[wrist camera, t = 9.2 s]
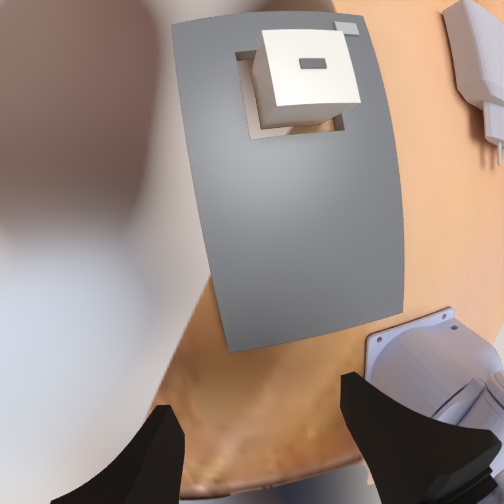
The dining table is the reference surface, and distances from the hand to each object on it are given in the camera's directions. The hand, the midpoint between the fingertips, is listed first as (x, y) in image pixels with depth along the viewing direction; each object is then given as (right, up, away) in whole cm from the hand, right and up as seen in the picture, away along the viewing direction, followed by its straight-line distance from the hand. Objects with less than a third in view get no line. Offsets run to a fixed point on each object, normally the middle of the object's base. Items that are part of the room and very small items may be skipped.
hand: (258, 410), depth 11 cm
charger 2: (+21, +22, +7) cm, 31 cm away
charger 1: (+2, +16, +6) cm, 17 cm away
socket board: (+3, +12, +7) cm, 14 cm away
